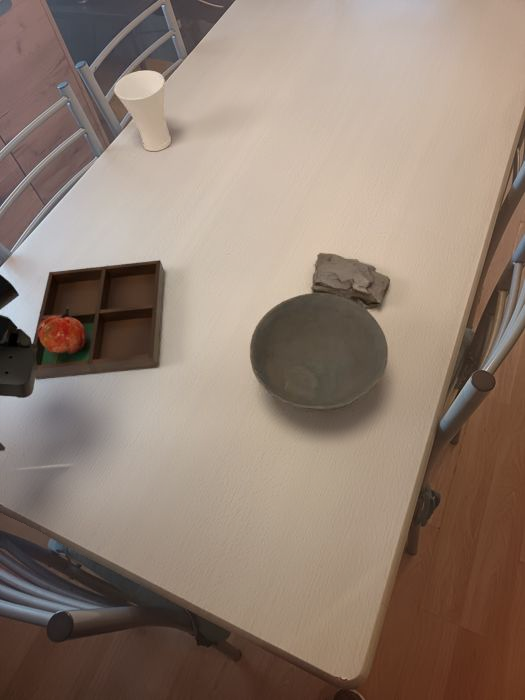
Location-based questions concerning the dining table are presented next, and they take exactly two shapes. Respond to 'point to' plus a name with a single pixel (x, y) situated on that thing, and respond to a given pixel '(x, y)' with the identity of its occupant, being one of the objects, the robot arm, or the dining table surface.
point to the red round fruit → (62, 334)
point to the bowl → (318, 351)
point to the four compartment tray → (105, 318)
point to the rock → (349, 279)
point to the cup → (146, 106)
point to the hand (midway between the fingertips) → (9, 416)
